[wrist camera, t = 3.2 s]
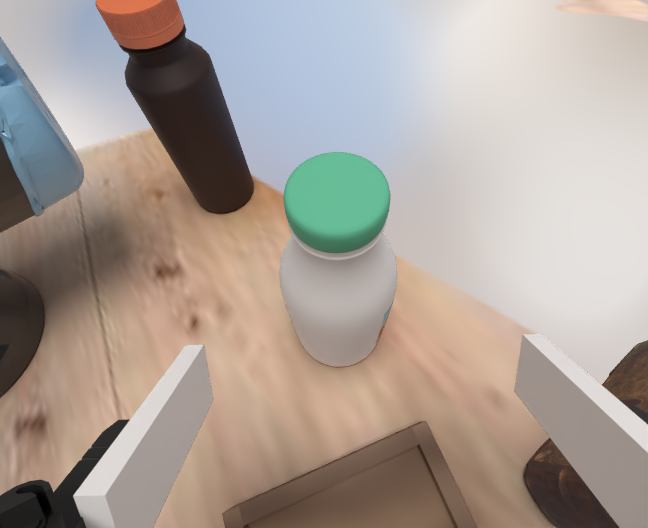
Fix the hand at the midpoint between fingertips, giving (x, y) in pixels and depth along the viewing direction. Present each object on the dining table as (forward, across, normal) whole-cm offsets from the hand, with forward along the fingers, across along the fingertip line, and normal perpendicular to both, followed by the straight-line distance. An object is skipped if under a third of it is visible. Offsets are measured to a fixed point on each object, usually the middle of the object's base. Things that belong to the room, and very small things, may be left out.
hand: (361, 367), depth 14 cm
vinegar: (+28, -13, +5) cm, 32 cm away
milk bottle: (+17, -1, -7) cm, 18 cm away
